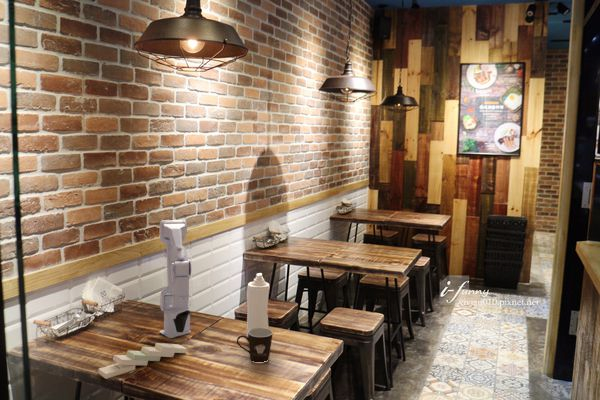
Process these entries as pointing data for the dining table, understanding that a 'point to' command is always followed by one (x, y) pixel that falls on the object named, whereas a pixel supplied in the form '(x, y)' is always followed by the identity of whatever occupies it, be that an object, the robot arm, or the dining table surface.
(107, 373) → the domino
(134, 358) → the domino
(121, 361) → the domino
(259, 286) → the spray can
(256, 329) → the coffee mug
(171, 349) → the domino
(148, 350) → the domino
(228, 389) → the dining table surface
